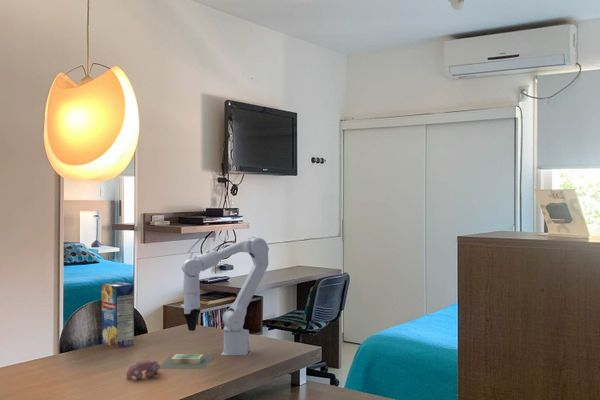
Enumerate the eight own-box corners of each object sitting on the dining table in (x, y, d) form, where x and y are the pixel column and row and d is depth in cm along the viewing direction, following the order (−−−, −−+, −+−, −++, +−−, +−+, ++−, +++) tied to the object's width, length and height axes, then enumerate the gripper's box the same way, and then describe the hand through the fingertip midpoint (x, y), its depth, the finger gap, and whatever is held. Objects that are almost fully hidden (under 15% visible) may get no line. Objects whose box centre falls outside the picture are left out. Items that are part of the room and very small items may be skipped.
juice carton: (101, 343, 231) (101, 283, 231) (118, 340, 237) (118, 281, 237) (116, 348, 223) (116, 286, 223) (134, 344, 228) (133, 284, 229)
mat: (215, 356, 209) (215, 354, 209) (204, 370, 191) (204, 368, 191) (171, 356, 210) (171, 354, 210) (156, 370, 192) (156, 368, 192)
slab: (203, 354, 204) (199, 358, 198) (203, 358, 204) (199, 363, 198) (175, 354, 204) (170, 358, 198) (175, 358, 204) (170, 363, 198)
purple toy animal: (128, 385, 181) (131, 368, 179) (124, 376, 185) (127, 358, 182) (159, 380, 186) (162, 363, 184) (155, 371, 190) (158, 354, 187)
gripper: (185, 289, 216) (186, 326, 215) (175, 295, 201) (175, 334, 201) (204, 289, 215) (204, 326, 215) (195, 295, 201) (195, 334, 201)
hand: (192, 330), depth 208 cm, fingers closed
